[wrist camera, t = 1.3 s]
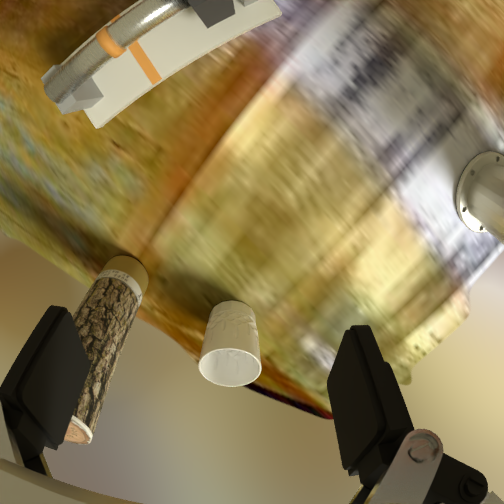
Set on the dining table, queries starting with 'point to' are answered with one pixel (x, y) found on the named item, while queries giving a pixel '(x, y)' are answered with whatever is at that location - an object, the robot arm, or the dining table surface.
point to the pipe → (122, 34)
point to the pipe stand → (159, 57)
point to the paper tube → (104, 336)
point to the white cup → (231, 345)
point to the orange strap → (135, 50)
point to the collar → (212, 10)
